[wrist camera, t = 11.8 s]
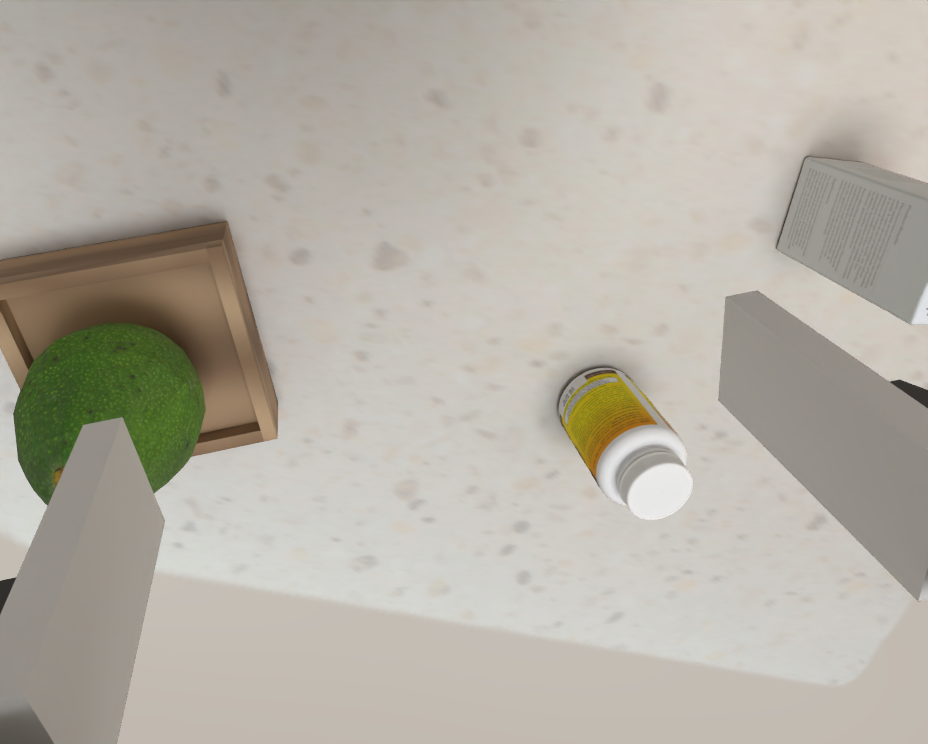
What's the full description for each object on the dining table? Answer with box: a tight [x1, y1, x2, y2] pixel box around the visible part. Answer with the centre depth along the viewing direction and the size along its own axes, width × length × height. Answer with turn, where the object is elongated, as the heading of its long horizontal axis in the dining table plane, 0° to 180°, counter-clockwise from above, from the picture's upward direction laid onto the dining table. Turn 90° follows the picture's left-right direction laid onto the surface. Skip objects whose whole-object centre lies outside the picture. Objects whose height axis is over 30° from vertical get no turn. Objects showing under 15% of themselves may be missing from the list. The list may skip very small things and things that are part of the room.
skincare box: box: [777, 157, 928, 325], centre depth 42 cm, size 6×4×12 cm
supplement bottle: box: [559, 368, 693, 520], centre depth 46 cm, size 6×6×10 cm
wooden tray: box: [0, 222, 278, 457], centre depth 40 cm, size 12×12×4 cm
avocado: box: [13, 323, 206, 505], centre depth 34 cm, size 8×8×12 cm
